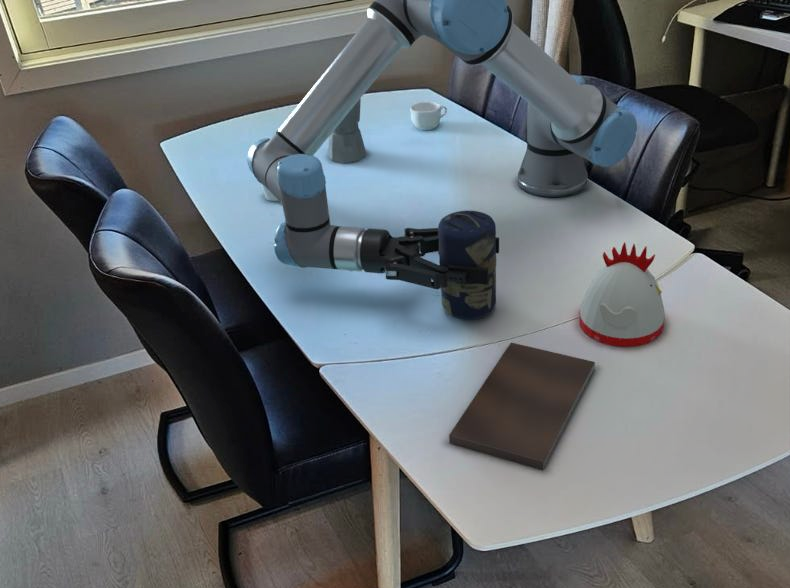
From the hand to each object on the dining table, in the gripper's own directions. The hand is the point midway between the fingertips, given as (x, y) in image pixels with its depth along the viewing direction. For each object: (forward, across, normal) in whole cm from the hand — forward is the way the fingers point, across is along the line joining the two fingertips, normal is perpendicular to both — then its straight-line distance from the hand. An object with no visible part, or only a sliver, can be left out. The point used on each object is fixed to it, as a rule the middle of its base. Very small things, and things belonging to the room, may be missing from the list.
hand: (493, 260), depth 139 cm
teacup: (-31, -82, -10) cm, 88 cm away
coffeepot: (-48, -61, -10) cm, 78 cm away
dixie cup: (-55, -38, -10) cm, 68 cm away
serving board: (+9, +24, -10) cm, 27 cm away
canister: (-4, 0, -10) cm, 11 cm away
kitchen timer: (+22, 0, -10) cm, 24 cm away
